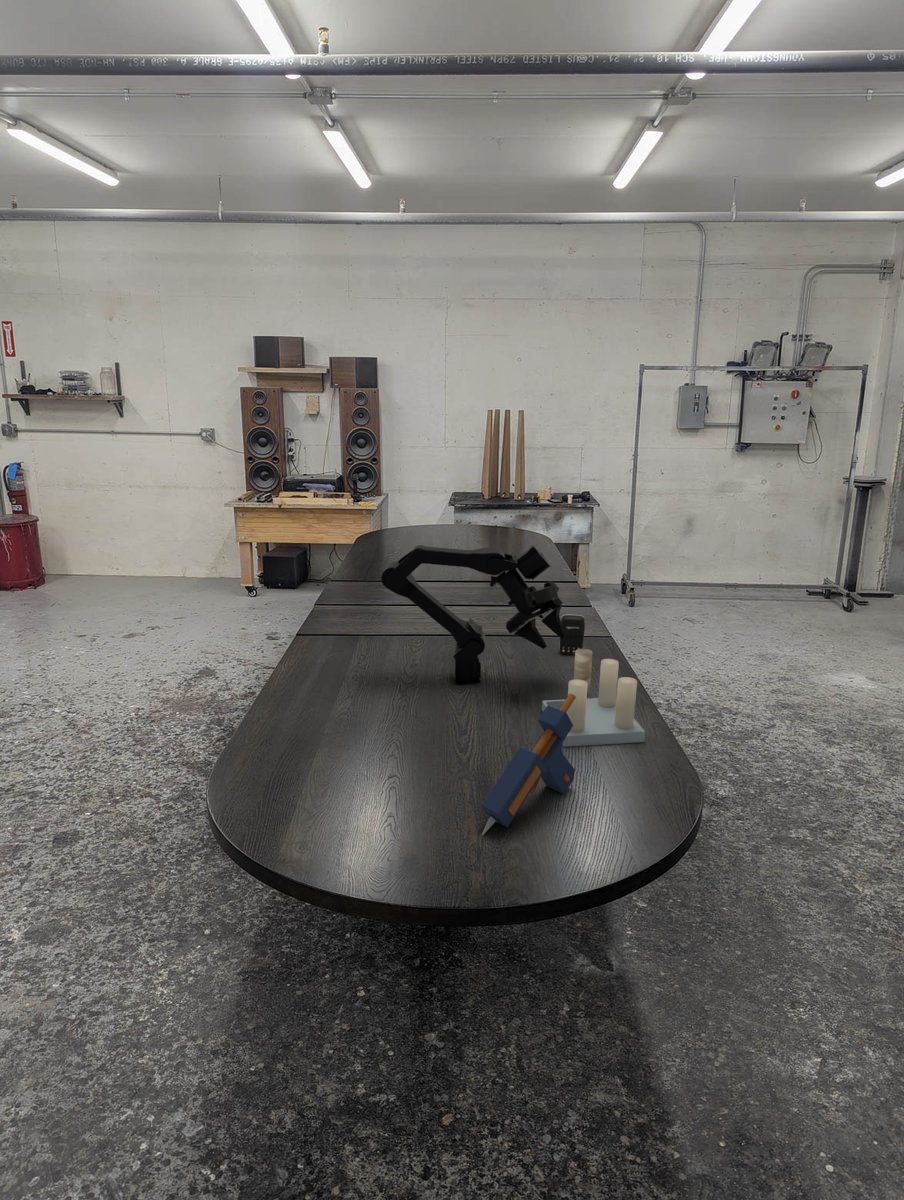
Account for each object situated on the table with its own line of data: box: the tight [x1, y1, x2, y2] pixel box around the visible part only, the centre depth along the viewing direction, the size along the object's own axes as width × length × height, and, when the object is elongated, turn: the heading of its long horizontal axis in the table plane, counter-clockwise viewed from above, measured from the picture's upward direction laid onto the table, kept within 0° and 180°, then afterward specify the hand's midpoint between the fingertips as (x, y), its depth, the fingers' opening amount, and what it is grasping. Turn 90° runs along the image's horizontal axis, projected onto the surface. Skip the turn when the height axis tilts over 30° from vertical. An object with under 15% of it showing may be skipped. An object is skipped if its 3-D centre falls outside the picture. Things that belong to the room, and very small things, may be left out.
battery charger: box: [558, 613, 586, 656], centre depth 208 cm, size 7×4×11 cm, turn 83°
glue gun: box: [481, 693, 576, 837], centre depth 135 cm, size 6×31×15 cm
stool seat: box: [541, 658, 646, 748], centre depth 165 cm, size 18×18×13 cm
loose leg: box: [573, 648, 593, 698], centre depth 177 cm, size 4×4×13 cm
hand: (554, 642), depth 179 cm, fingers open, 9 cm apart
